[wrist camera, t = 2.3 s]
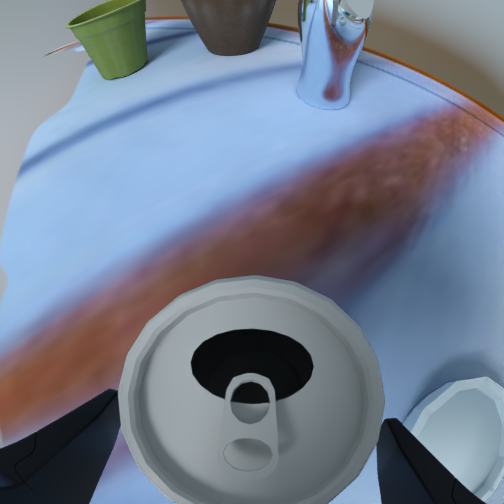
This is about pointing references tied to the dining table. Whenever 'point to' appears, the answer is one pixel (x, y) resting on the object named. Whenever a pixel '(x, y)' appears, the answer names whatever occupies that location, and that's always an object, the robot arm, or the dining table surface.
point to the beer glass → (330, 48)
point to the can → (251, 395)
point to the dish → (464, 431)
